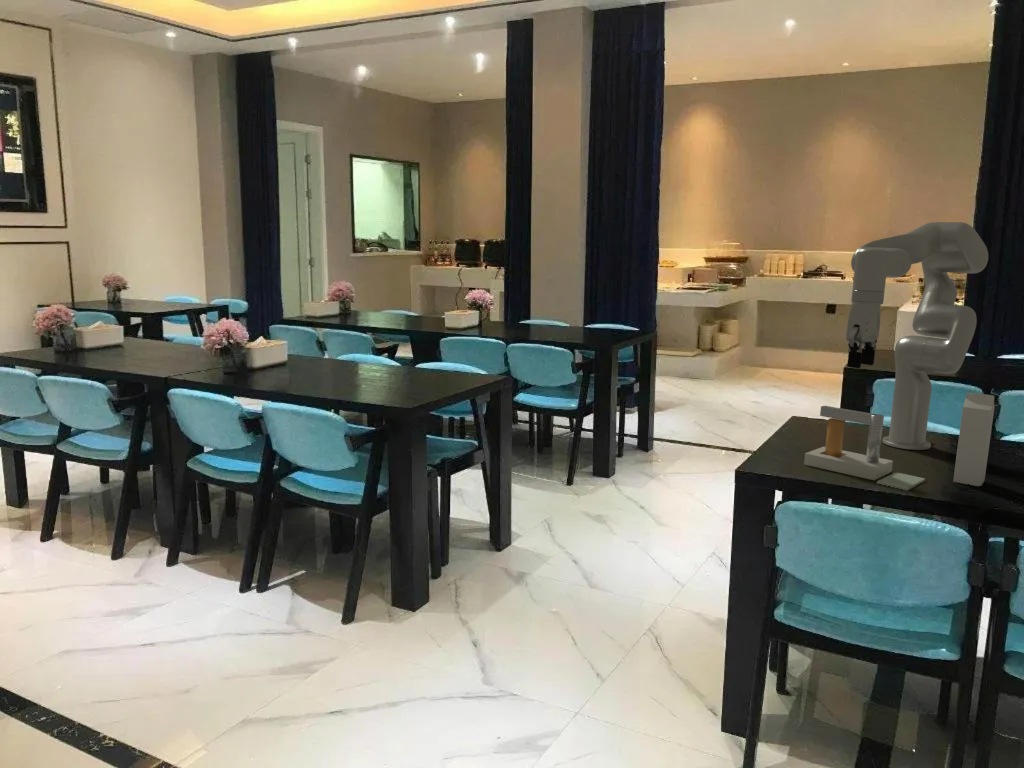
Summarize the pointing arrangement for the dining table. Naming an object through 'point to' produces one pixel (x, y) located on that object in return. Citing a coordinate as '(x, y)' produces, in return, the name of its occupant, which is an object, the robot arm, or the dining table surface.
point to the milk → (974, 439)
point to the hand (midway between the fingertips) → (860, 365)
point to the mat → (901, 481)
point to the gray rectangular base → (849, 464)
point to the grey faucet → (864, 418)
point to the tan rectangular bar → (834, 437)
